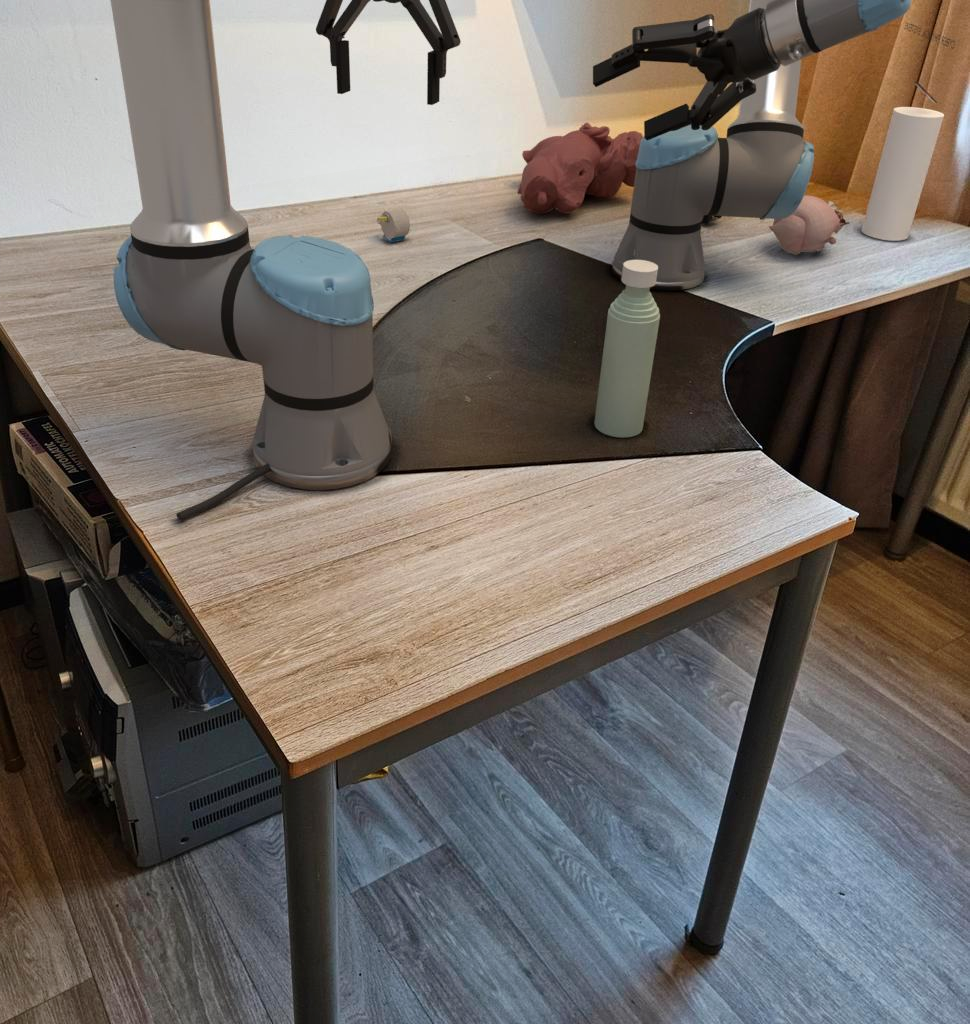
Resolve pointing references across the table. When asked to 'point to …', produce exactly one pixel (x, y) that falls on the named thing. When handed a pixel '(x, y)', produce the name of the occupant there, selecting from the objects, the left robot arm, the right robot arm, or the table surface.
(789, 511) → the table surface
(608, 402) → the bottle
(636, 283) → the cap
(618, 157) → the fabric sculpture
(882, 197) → the tall white cylinder
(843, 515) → the table surface
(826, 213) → the toy
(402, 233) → the electric motor
